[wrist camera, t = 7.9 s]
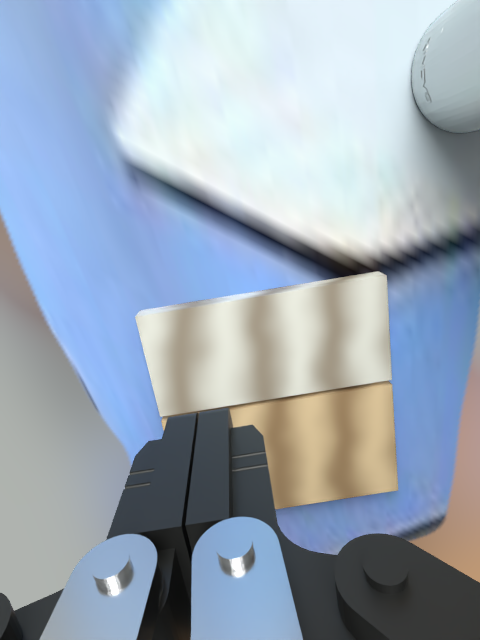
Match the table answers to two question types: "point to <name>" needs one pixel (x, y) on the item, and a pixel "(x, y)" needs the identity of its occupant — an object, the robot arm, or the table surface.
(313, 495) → the honey oak plank
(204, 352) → the grey-washed plank
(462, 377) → the table surface
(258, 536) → the robot arm
